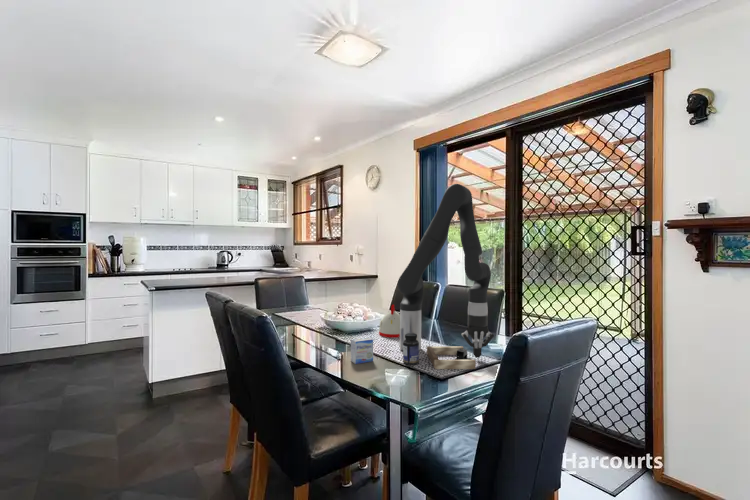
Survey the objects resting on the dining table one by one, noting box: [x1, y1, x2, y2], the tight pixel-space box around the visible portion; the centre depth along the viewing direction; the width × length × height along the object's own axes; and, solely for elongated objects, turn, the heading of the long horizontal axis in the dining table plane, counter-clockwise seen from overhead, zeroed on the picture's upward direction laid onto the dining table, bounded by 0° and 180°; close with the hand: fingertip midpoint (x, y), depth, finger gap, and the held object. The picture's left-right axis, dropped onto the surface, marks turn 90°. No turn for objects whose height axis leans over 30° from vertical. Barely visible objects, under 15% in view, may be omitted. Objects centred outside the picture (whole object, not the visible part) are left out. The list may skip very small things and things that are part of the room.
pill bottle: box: [402, 333, 420, 366], centre depth 146 cm, size 6×6×11 cm
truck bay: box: [426, 345, 477, 370], centre depth 149 cm, size 15×19×4 cm
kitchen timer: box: [378, 304, 400, 339], centre depth 191 cm, size 14×14×15 cm
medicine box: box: [350, 337, 374, 365], centre depth 148 cm, size 8×4×9 cm, turn 117°
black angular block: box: [454, 348, 473, 360], centre depth 149 cm, size 12×7×5 cm, turn 147°
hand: (477, 356), depth 149 cm, fingers closed
